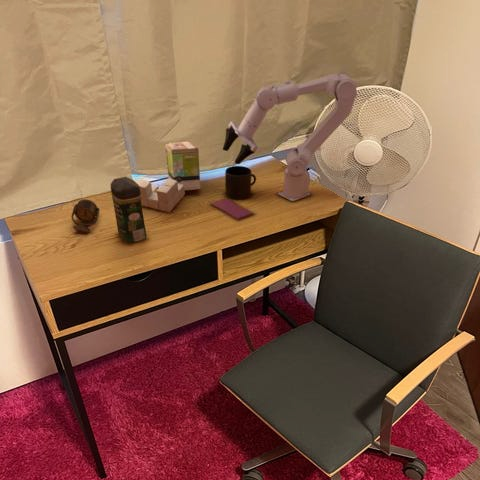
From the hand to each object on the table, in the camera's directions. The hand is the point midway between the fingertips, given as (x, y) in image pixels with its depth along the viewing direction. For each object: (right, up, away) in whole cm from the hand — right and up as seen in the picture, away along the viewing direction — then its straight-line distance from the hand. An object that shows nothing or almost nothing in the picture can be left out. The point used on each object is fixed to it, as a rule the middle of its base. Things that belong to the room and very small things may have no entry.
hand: (230, 156), depth 168 cm
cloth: (0, -19, 0) cm, 19 cm away
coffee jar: (-31, -31, -16) cm, 47 cm away
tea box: (-18, -7, +12) cm, 23 cm away
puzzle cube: (-24, -15, +2) cm, 29 cm away
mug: (+4, -11, +10) cm, 15 cm away
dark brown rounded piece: (-48, -26, -10) cm, 56 cm away
